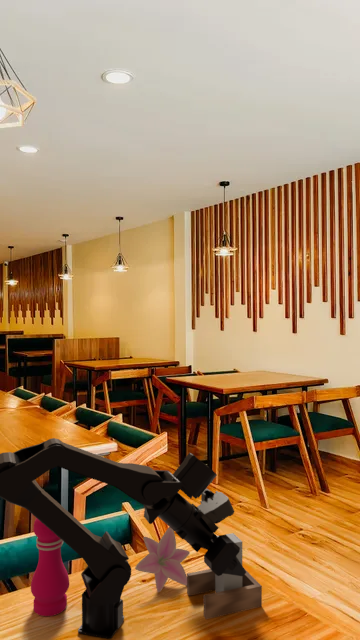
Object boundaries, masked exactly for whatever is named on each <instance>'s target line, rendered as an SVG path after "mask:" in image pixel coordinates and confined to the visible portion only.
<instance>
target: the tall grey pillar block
mask: <svg viewBox="0 0 360 640" xmlns="http://www.w3.org/2000/svg"><path fill="white" fill-rule="evenodd" d="M226 535H227V536H228V537H229V538H230V539H231V540H232V541H233V542H234V543H235V544H236V545H237V546H239V547H240V552H239V553H238V554H237V556H236V557H237V558H238V560H239V561H240V563H241V564H242V565H243V540H242V539H240V538H239V537H238V536H237V535H236V534H235V533H232V532H231V533H226ZM216 536H217V537H219V536H220V535H216ZM240 587H242V576H236V575H230V574H222V575H220V576H217V575H216V574H215V590H214V593H217V592H221V591H226V590H231V589H235V588H240Z"/></svg>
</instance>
